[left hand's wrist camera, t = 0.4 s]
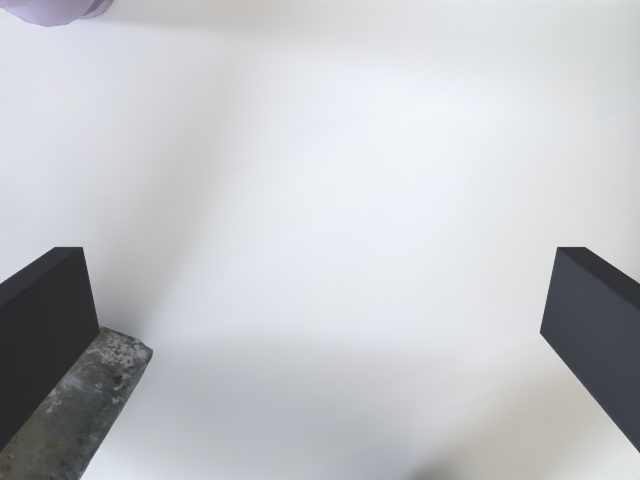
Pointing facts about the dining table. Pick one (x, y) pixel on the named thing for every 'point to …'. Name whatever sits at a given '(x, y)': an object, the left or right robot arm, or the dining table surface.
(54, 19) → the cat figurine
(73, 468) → the concrete block
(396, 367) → the dining table surface
